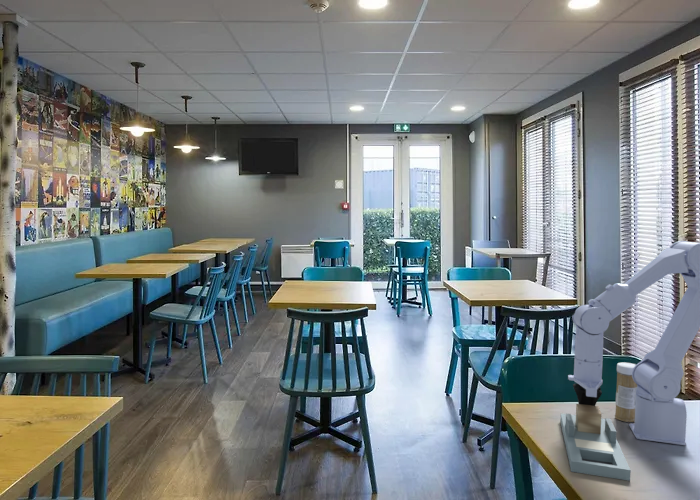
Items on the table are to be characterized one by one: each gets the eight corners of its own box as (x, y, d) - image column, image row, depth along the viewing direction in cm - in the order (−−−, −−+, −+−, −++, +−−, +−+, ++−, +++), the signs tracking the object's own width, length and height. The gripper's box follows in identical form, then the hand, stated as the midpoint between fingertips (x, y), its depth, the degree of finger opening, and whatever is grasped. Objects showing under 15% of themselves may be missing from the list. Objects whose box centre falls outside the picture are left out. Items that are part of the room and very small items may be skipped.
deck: (607, 427, 116) (607, 408, 116) (630, 480, 92) (631, 456, 92) (560, 421, 119) (561, 403, 119) (571, 471, 95) (572, 448, 95)
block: (597, 426, 112) (598, 406, 111) (600, 434, 107) (601, 413, 107) (575, 423, 113) (576, 403, 113) (577, 431, 109) (578, 411, 109)
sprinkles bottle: (619, 414, 124) (621, 360, 123) (639, 419, 121) (641, 365, 120) (611, 418, 121) (613, 363, 120) (631, 424, 118) (634, 368, 117)
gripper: (566, 349, 121) (564, 404, 122) (572, 365, 107) (569, 427, 108) (598, 352, 119) (596, 408, 120) (608, 369, 105) (605, 432, 106)
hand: (585, 417), depth 114 cm, fingers closed
